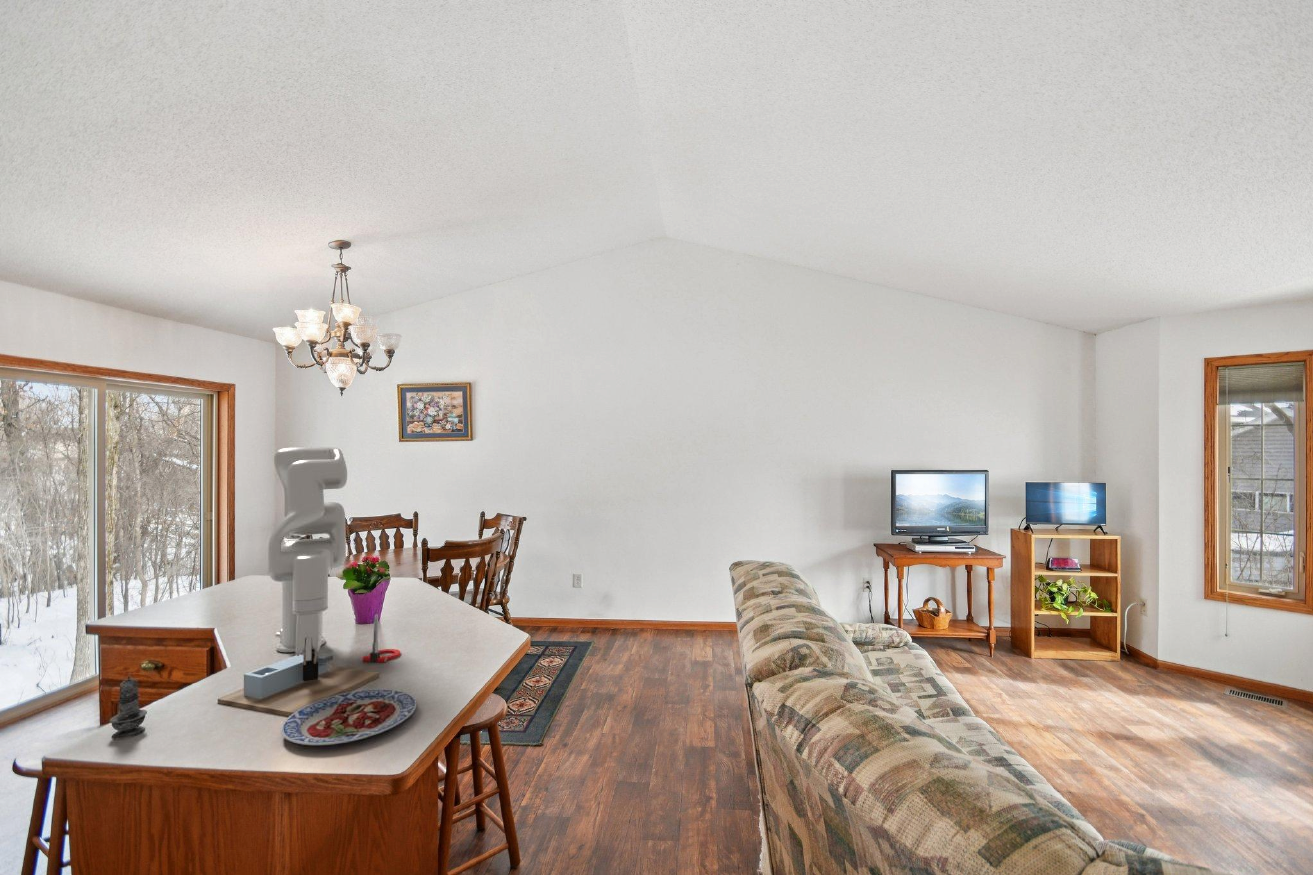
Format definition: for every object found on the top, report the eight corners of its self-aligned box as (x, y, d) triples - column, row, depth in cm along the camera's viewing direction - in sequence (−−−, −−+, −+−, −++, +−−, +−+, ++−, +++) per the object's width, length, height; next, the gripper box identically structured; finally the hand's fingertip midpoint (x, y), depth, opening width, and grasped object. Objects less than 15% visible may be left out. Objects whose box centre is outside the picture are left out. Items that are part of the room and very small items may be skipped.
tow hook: (379, 652, 172) (359, 662, 163) (381, 607, 173) (360, 614, 164) (406, 653, 171) (387, 663, 162) (407, 608, 172) (388, 615, 162)
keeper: (294, 670, 154) (294, 654, 154) (304, 666, 157) (304, 650, 157) (323, 675, 151) (323, 658, 151) (333, 670, 154) (333, 654, 154)
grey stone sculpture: (124, 727, 126) (125, 670, 126) (154, 725, 126) (154, 669, 126) (101, 740, 120) (101, 681, 120) (132, 739, 120) (132, 680, 121)
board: (217, 703, 137) (217, 698, 137) (308, 666, 160) (308, 662, 160) (294, 717, 129) (294, 712, 129) (378, 676, 152) (378, 672, 152)
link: (313, 668, 156) (313, 649, 156) (329, 671, 154) (329, 652, 154) (243, 695, 139) (243, 674, 139) (261, 699, 137) (261, 677, 137)
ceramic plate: (328, 697, 140) (328, 685, 140) (435, 698, 139) (435, 685, 139) (249, 754, 114) (249, 739, 114) (380, 755, 113) (380, 739, 114)
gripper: (296, 599, 151) (296, 671, 151) (288, 614, 138) (288, 693, 137) (330, 596, 154) (330, 666, 154) (325, 609, 141) (325, 687, 141)
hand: (310, 679), depth 146 cm, fingers closed
